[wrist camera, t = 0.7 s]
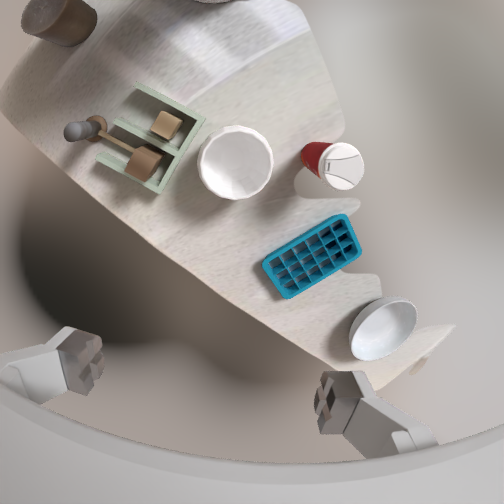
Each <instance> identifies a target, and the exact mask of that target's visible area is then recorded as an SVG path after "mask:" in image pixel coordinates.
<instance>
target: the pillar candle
mask: <svg viewBox="0 0 504 504" xmlns="http://www.w3.org/2000/svg"><path fill="white" fill-rule="evenodd" d="M96 23H97V13H96V11H95V9H93V8H91V7H90V6H89V5H88V4H87V3H85V2H84V1H83V0H31V1H30V2H29V3H28V5H27V6H26V7H25V10H24V11H23V14H22V20H21V27H22V29H23V31H24V32H25V33H27V34H30V35H33V36H36V37H39V38H41V39H45V40H47V41H50V42H53V43H56V44H58V45H61V46H65V47H72V46H75V45H77V44H79V43H81V42H83V41H84V40H85V39H86V38H87V37H88V36H89V35H90V34H91V33H92V31H93V30H94V28H95V26H96Z"/></svg>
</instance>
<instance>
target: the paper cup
mask: <svg viewBox="0 0 504 504" xmlns="http://www.w3.org/2000/svg"><path fill="white" fill-rule="evenodd" d="M301 159H302V162H303V164H304V165H305V166H306V167H307V168H308V169H309V170H310V171H312V172H313V173H314V174H315V175H317V176H318V177H319V178H320V179H321V180H322V181H323V183H324V184H325V185H326V186H327V187H329V188H330V189H332V190H335V191H344V190H348V189H351V188H353V187H354V186H355V185H356V184H357V183H358V182H359V181H360V179H361V178H362V176H363V173H364V162H363V160H362V157H361V155H360V153H359V152H358V150H357V149H356V148H355V147H353V146H352V145H350V144H347V143H336V144H333V143H324V142H311V143H309V144H307V145H306V146H305V147H304V148H303V150H302V153H301Z"/></svg>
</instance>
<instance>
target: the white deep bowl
mask: <svg viewBox="0 0 504 504" xmlns="http://www.w3.org/2000/svg"><path fill="white" fill-rule="evenodd" d="M273 166H274V163H273V153H272V150H271V148H270V146H269V144H268V143H267V141H266V139H265V138H264V137H263V136H261V135H260V134H259V133H258V132H256V131H255V130H254V129H251V128H247V127H243V126H239V125H234V126H227V127H222V128H220V129H218V130H217V131H215V132H213V133H212V134H210V135H209V136H208V138H207V139H206V140H205V141H204V143H203V144H202V145H201V147H200V151H199V155H198V159H197V167H198V173H199V177H200V179H201V180H202V182H203V183H204V185H205V186H206V188H207V189H208V190H209V191H211V192H212V193H214V194H215V195H217V196H218V197H221V198H226V199H230V200H240V199H247V198H250V197H251V196H253V195H255V194H257V193H258V192H260V191H261V190H262V189H263V187H264V186H265V185H266V184H267V182H268V181H269V180H270V176H271V173H272V170H273Z"/></svg>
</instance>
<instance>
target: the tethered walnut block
mask: <svg viewBox="0 0 504 504" xmlns="http://www.w3.org/2000/svg"><path fill="white" fill-rule="evenodd" d="M106 132H107V123H106V121H105V119H104V118H102V117H101V116H92V117H90V118H88V119H87V120H86V121H82V122H72V123H69V124H68V125H67V126H66V127H65V129H64V137H65V139H66V140H67V141H68V142H75V141H79V140H83V139H87V140H88V141H91V142H96V141H99V140H101V139H102V138H103V137H104V138H106V139H108V140H110V141H111V142H113V143H115V144H117V145H119V146H121V147H123V148H125V149H127V150H128V151H130V152H132V153H133V154H132V156H131V158H130V160H129V162H128V164H127V166H126V168H125V170H124V172H126V173H128V174H130V175H132V176H133V177H135V178H137V179H139V180H141V181H143V182H144V183H145V182H146V181H147V180H148V179H149V178H150V177H151V176H152V175H153V174H154V173H155V172H156V170H157V168H158V166H159V165H160V163H161V161H162V159H163V158H164V156H165V153H163V152H161V151H159V150H158V149H156V148H154V147H152V146H150V145H148V144H146V145H144V146H141V147H139V148H134V147H132V146H130V145H128V144H126V143H125V142H123V141H121V140H119V139H117V138H115V137H113V136H111V135H109V134H108V133H106Z"/></svg>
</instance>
